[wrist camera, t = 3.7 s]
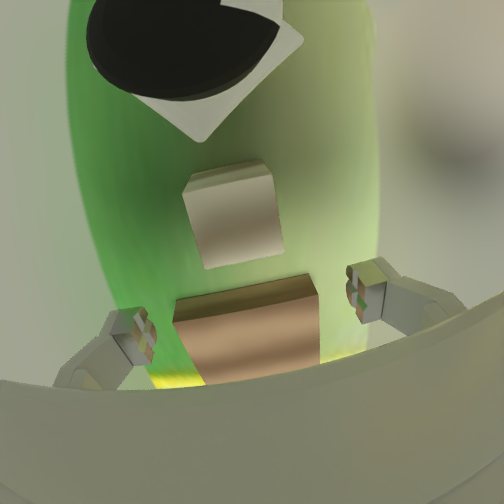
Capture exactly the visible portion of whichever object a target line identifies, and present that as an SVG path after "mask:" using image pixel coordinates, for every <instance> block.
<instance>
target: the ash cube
mask: <svg viewBox="0 0 504 504" xmlns="http://www.w3.org/2000/svg"><path fill="white" fill-rule="evenodd" d="M182 196H183V199H184V203H185V206H186V210H187V213H188V217H189V220H190V223H191V227H192V230H193V233H194V237H195V240H196V243H197V246H198V249H199V253H200V256H201V259H202V262H203V265H204V268H205V270H207V269H211V268H216V267H221V266H226V265H231V264H236V263H241V262H246V261H250V260H255V259H260V258H265V257H270V256H274V255H279V254H284V246H283V239H282V233H281V226H280V219H279V213H278V206H277V200H276V194H275V188H274V182H273V176H272V173H271V172H270V171H269V169H268V168H267V167H266V165H265V164H264V163H263V161H262V160H261V159H259V160H254V161H249V162H244V163H239V164H234V165H229V166H224V167H220V168H216V169H211V170H207V171H203V172H198V173H194V174H192V175H191V177H190V179H189V181H188V183H187V185H186V187H185V189H184V191H183V193H182Z"/></svg>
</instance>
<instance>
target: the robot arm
mask: <svg viewBox="0 0 504 504" xmlns="http://www.w3.org/2000/svg"><path fill="white" fill-rule="evenodd" d="M346 275H347V277H348V278H349V280H348V282H347V283H346V292H347V298H348V300H349V303H350V304H351V306H352V307H355V308H356V315H357V317H358V318H359V320H360V322H361V323H362V324H365V323H369V322H373V321H376V320H380V319H381V320H382V321H384V322H386V323H388V324H389V325H391V326H392V327H394V328H396V329H397V330H399V331H401V332H402V333H404V334H405V335H407V337H404V338H401V339H398V340H396V341H393V342H390V343H387V344H385V345H382V346H379V347H376V348H373V349H370V350H367V351H364V352H361V353H358V354H354V355H351V356H348V357H344V358H341V359H337V360H334V361H330V362H326V363H322V364H319V365H315V366H311V367H306V368H302V369H298V370H293V371H289V372H284V373H279V374H274V375H269V376H264V377H259V378H253V379H247V380H241V381H235V382H228V383H221V384H213V385H204V386H195V387H184V388H171V389H154V390H117V388H118V387H119V385H120V384H121V383H122V381H123V380H124V379H125V378H126V376H127V375H128V374H129V372H130V371H131V370H132V369H133V366H140V365H150V364H151V363H152V358H153V354H154V351H153V350H152V347H153V346H154V345H155V344H156V340H157V335H156V330H155V327H154V325H153V323H152V322H151V321H150V320H148V319H147V316H148V313H147V311H146V310H145V308H144V307H142V306H141V307H134V308H126V309H119V310H113V311H111V312H109V315H108V317H107V319H106V321H105V323H104V325H103V328H102V330H101V332H100V334H99V336H98V337H95V338H94V339H93V340H91V341H90V342H89V343H88V344H87V345H86V346H85V347H83V349H81V350H80V351H79V352H78V353H77V354H75V356H73V357H72V358H71V359H70V360H69V361H68V362H67V363H65V364H64V365H63V366H62V367H61V368H60V370H59V372H58V375H57V377H56V379H55V382H54V384H53V387H47V386H38V385H31V384H25V383H18V382H12V381H7V380H0V504H504V290H503V291H501V292H499V293H498V294H496V295H494V296H492V297H490V298H489V299H487V300H485V301H483V302H481V303H479V304H478V305H476V306H474V307H472V308H470V309H467V308H466V307H465V306H464V305H463V303H462V302H461V301H460V300H459V299H458V298H457V297H456V296H455V295H454V294H453V293H451V292H448V291H445V290H443V289H439V288H437V287H434V286H431V285H429V284H426V283H423V282H420V281H417V280H414V279H411V278H409V277H406V276H404V277H401V276H400V275H399V274H398V273H397V271H396V270H395V269H394V268H393V267H392V266H391V265H390V264H389V263H388V262H387V261H386V260H385V259H384V258H383V257H381V256H380V257H377V258H373V259H370V260H367V261H363V262H359V263H355V264H351V265H347V269H346Z"/></svg>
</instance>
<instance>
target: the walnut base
mask: <svg viewBox="0 0 504 504" xmlns="http://www.w3.org/2000/svg"><path fill="white" fill-rule="evenodd" d="M172 323H173V325H174V327H175V329H176V331H177V333H178V335H179V337H180V339H181V341H182V343H183V345H184V347H185V348H186V350H187V352H188V354H189V356H190V358H191V359H192V361H193V363H194V365H195V367H196V368H197V370H198V372H199V374H200V375H201V377H202V379H203V381H204V382H205V384H206V385H213V384H221V383H228V382H235V381H241V380H247V379H253V378H259V377H264V376H269V375H274V374H279V373H284V372H289V371H293V370H298V369H302V368H306V367H311V366H315V365H319V364H320V334H319V299H318V293H317V291H316V288H315V286H314V284H313V282H312V280H311V278H310V276H309V274H305V275H301V276H296V277H291V278H287V279H282V280H277V281H273V282H268V283H263V284H258V285H253V286H248V287H243V288H238V289H233V290H228V291H223V292H218V293H213V294H207V295H202V296H197V297H191V298H186V299H180V300H176V306H175V311H174V316H173V321H172Z"/></svg>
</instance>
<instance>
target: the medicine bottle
mask: <svg viewBox="0 0 504 504" xmlns="http://www.w3.org/2000/svg"><path fill="white" fill-rule="evenodd" d="M282 17H283V1H282V0H96V2H95V4H94V6H93V8H92V11H91V13H90V16H89V20H88V25H87V34H86V40H87V48H88V52H89V55H90V58H91V60H92V62H93V65H94V68H95V69H96V70H97V71H99V73H100V74H101V75H102V76H103V77H104V78H105V79H106V80H107V81H109V82H110V83H111V84H113V85H115V86H116V87H118V88H119V89H122V90H124V91H127V92H129V93H131V94H132V95H134V96H135V97H136V98H138V99H139V100H141V101H142V102H143V103H145V104H146V105H148V106H149V107H150V108H152V109H153V110H154V111H156V112H157V113H158V114H160V115H161V116H163V117H164V118H165V119H167V120H168V121H169V122H171V123H172V124H173V125H174V126H176V127H177V128H178V129H180V130H181V131H182V132H184V133H185V134H186V135H188V136H189V137H190V138H191V139H193V140H194V141H196V142H198V143H200V142H204V141H205V140H206V139H207V138H208V137H209V136H210V135H211V134H212V133H213V131H214V130H215V129H216V128H217V127H218V126H219V125H220V124H221V123H222V121H223V120H224V119H225V118H226V117H227V116H228V115H229V114H230V113H231V112H232V111H233V110H234V109H235V107H236V106H237V105H238V104H239V103H240V102H241V101H242V100H243V99H244V98H245V97H246V96H247V95H248V94H249V93H250V92H251V91H252V90H253V89H254V88H255V87H256V86H257V85H258V84H259V83H260V82H261V81H262V80H263V79H264V78H265V77H266V76H268V75H269V74H270V73H271V72H272V71H273V70H274V69H275V68H276V67H277V66H278V65H279V64H281V63H282V62H283V61H284V60H285V59H286V58H287V57H288V56H289V55H291V54H292V53H293V52H294V51H295V50H296V49H298V48H299V47H300V46H301V45H302V44H303V42H304V38H303V36H302V35H301V34H300V33H299V32H298V31H297V30H295V29H294V28H293V27H292V26H291V25H289V24H288V23H287V22H286V21H284V20H283V19H282Z"/></svg>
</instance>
